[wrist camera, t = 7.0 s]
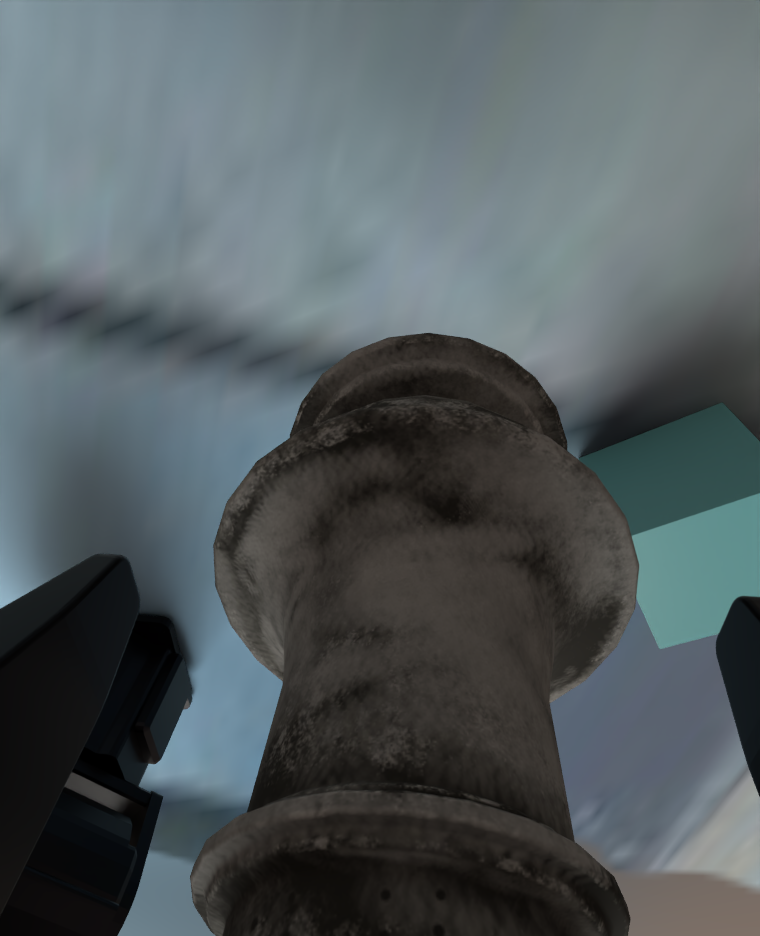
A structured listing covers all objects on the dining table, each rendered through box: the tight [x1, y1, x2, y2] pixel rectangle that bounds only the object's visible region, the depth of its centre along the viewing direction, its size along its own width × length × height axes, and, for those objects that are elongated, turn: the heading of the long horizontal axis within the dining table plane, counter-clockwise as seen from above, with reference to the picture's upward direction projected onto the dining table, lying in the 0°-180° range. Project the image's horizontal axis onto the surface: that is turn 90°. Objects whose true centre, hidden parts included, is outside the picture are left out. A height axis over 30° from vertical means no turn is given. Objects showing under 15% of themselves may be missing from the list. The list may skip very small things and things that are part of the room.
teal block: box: [579, 403, 760, 649], centre depth 19 cm, size 5×5×5 cm
